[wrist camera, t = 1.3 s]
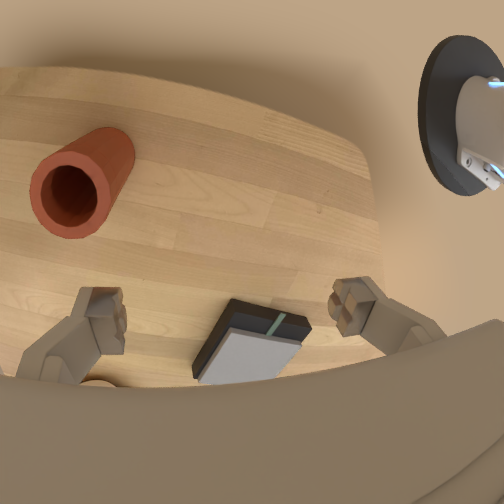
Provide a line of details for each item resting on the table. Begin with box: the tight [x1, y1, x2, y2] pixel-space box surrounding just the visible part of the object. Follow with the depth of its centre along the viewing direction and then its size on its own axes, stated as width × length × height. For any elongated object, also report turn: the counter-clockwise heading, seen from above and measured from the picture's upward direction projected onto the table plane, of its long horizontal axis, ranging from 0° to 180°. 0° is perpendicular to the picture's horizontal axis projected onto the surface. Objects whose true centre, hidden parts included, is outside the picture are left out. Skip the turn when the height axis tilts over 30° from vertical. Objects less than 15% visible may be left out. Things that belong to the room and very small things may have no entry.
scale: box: [192, 299, 312, 385], centre depth 40 cm, size 12×16×4 cm
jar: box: [29, 127, 135, 239], centre depth 20 cm, size 6×6×11 cm
